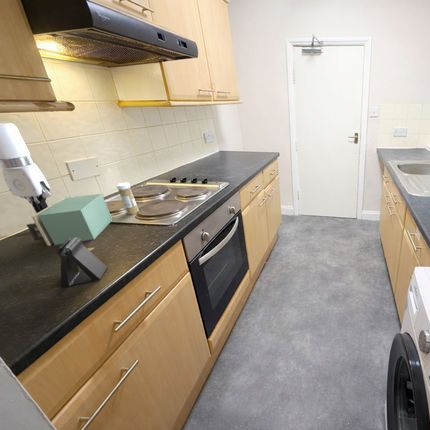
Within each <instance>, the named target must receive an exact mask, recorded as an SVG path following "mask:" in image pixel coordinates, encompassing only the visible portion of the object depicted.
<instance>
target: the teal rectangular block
mask: <svg viewBox="0 0 430 430" xmlns="http://www.w3.org/2000/svg"><path fill="white" fill-rule="evenodd" d="M64 198H65V199H63V198H62V199H63V200H62V201H60V202H59V203H57V204H55V205H54V206H52V207H51V208H49V209H48V210H46V211H44V212H43V213H41V214H40V215H39V217H40V219H41V221H42V223H43V224H44V226H45V228H46V230H47V232H48V234H49V235H50V237H51V239H52V241H53V244H54V246H57V245H63V244H64V243H65V242H66V241H67V240H68V239H69V238H71V239H70V241H71V240H72V239H73V238H74V237H78V238H80V239H81V240H82V242H84V241H85V242H86V241H92V240H95V239H96V238H97V237H98V236H99V235H100V234H101V233H102V232H103V231H104V230H105V229H106V228H107V226H108V225H110V223H111V222H112V221H113V218H112V215H111V213H110V210H109V208H108V205H107V203H106V201H105V198H104V196H103V194H102V193H97V194H88V195H79V196H69V197H64ZM110 221H111V222H110Z"/></svg>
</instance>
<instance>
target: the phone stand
mask: <svg viewBox="0 0 430 430" xmlns="http://www.w3.org/2000/svg"><path fill="white" fill-rule="evenodd" d="M70 239H71V238H69V239H68V240H67V241H66V242H65V243H64V244H61V246H60V247H59V248H58V249H57V251H56V253H57V255H58V256H59V259H60V288H62V289H63V288H64V289H65V288H70V287H73V286H79V285H85V284H89V283H94V282H98V281H100V280H101V279H102V278H103V276H104V274H105V273H106V271H107V269H108V266H107V265H106V264H105V263H103V262H102V261H101V260H100V259H99V257H97V255H95V254H93V252H92V251H91V250H89V249H88V247H86V246H85V245H84V243H83V241H82V240H81V239H80V238H78V237H74V238H73V239H72V240H71V241H70ZM79 269H81V270H82V271H81V272H79Z"/></svg>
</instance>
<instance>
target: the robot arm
mask: <svg viewBox="0 0 430 430" xmlns="http://www.w3.org/2000/svg"><path fill="white" fill-rule="evenodd" d="M0 166H1V172H2V176H3V179H4V181H5V183H6V185H7V188H8V191H10V193H11V194H12V196H14V197H19V198H21V199H25V200H26V201H27V202H28V203H29V204H30V205H31V206H32V207H33V209H34V211H35V214H37V213H38V212H40V211H42V210H44V209H45V208H47V207H49V205H48V203H47V202H46V201H47V198H50V197H51V196H52V194H51V193H50V192H51V187H50V185H49V183H48V181H47V178H45V175H44V174H43V172H42V171H41V170H40V168H39V166H38V165H37V164H36V163H35V161H34V158H33V157H32V154H31V153H30V151H29V149H28V146H27V144H26V142H25V141H24V138H23V137H22V134H21V133H20V131H19V129H18V126H17V125H16V124H14V123H11V122H0Z"/></svg>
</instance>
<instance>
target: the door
mask: <svg viewBox="0 0 430 430" xmlns="http://www.w3.org/2000/svg"><path fill="white" fill-rule="evenodd" d="M65 198H66V197H64V198H61V199H60V200H57V201H56V202H54V203H52V204H51V205H48V207H47V208H45V209H44V210H42V211H40V212H38V213H35V214H33V215H31V218H32V220H33V223H27V224H26V227H27V228H28V230H29V232H30V234H31V236H32V237H33V239H34V241H41V240H44V242H45V244H46V246H51V245H53V244H54V243H53V241H52V239H51V237H50V235H49V234H48V232H47V230H46V228H45V226H44V224H43V223H42V221H41V219H40V217H39V215H40V214H41V213H43V212H44V211H46V210H48V209H49V208H51V207H52V206H54V205H55V204H57V203H59V202H60V201H62V200H63V199H65ZM36 228H37V229H38V231H39V233H40V234H41V235H38V233H37V231H36V230H35V229H36Z"/></svg>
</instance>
